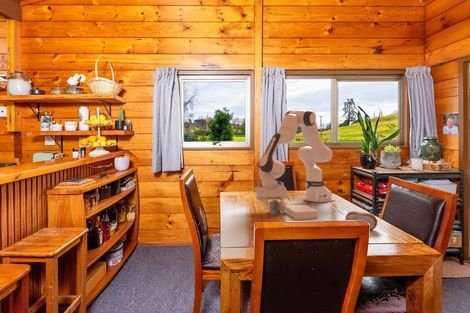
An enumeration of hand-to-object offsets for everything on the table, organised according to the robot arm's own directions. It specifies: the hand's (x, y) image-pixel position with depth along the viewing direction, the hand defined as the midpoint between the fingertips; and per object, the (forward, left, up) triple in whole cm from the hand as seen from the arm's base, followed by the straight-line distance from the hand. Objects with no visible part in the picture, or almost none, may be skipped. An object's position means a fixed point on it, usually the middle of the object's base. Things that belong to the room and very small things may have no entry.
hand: (274, 204), depth 188 cm
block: (0, 0, -5) cm, 6 cm away
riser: (-14, +6, -5) cm, 16 cm away
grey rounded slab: (-32, +38, -6) cm, 50 cm away
